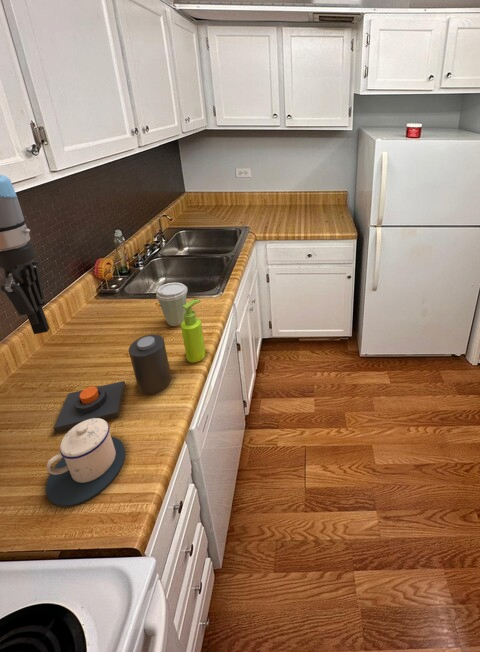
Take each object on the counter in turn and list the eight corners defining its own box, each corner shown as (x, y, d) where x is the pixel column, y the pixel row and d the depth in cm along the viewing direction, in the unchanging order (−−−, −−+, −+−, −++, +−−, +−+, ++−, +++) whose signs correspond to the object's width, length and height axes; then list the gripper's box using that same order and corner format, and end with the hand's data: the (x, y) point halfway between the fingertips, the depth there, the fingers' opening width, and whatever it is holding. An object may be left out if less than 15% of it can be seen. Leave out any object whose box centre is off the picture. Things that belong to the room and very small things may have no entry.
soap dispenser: (211, 352, 110) (204, 301, 103) (194, 365, 105) (185, 312, 97) (200, 345, 113) (192, 295, 106) (182, 357, 108) (173, 305, 100)
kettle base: (55, 433, 83) (51, 422, 82) (70, 398, 93) (66, 388, 91) (118, 417, 87) (115, 406, 86) (126, 385, 97) (123, 375, 96)
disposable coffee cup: (178, 310, 132) (172, 277, 126) (198, 317, 127) (193, 283, 122) (155, 325, 123) (148, 290, 117) (176, 333, 119) (170, 298, 113)
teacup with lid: (113, 436, 82) (102, 402, 77) (120, 466, 75) (109, 430, 71) (53, 468, 75) (37, 431, 70) (55, 504, 68) (37, 466, 64)
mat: (34, 518, 66) (33, 516, 66) (60, 449, 79) (59, 447, 79) (118, 491, 71) (117, 490, 71) (130, 430, 84) (129, 428, 84)
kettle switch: (79, 406, 86) (77, 400, 86) (83, 394, 90) (81, 388, 89) (97, 402, 88) (95, 396, 87) (100, 390, 91) (98, 384, 90)
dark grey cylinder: (136, 398, 93) (124, 356, 87) (141, 370, 102) (131, 330, 97) (170, 390, 96) (162, 348, 90) (172, 363, 105) (165, 324, 100)
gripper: (17, 254, 69) (49, 345, 78) (42, 232, 81) (68, 313, 89) (-29, 259, 67) (10, 352, 76) (4, 236, 78) (34, 318, 87)
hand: (41, 331), depth 82 cm, fingers closed
